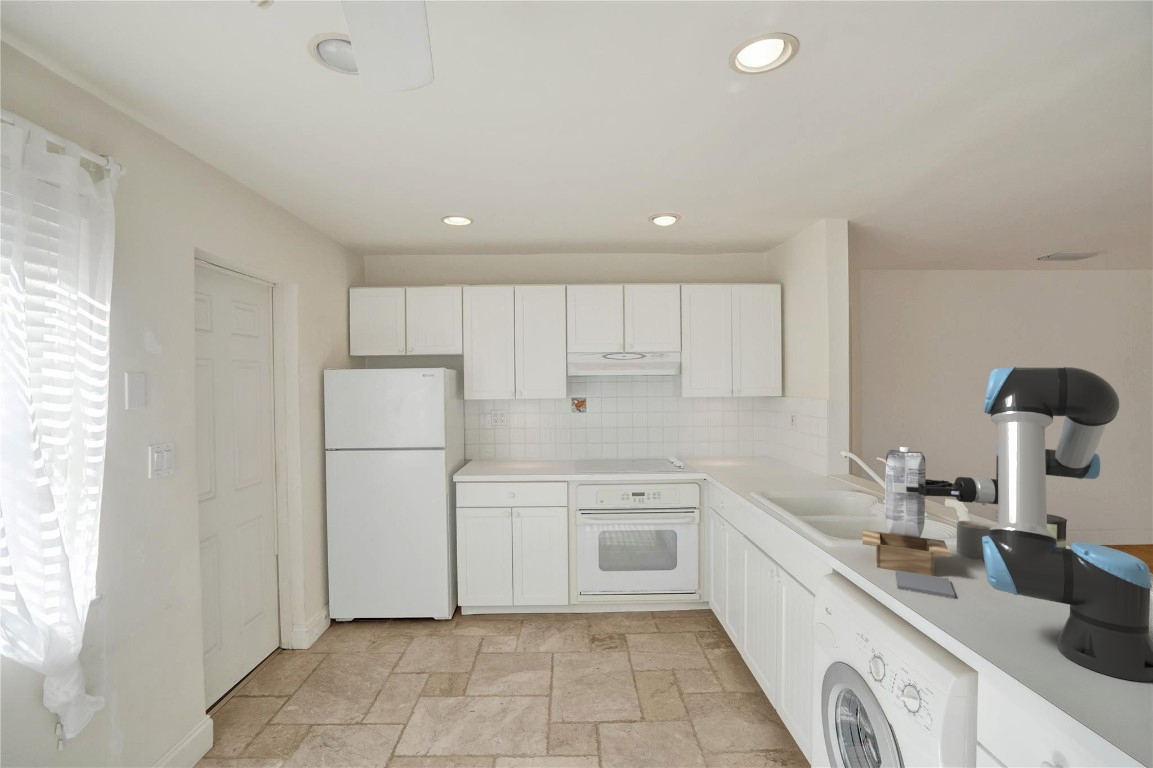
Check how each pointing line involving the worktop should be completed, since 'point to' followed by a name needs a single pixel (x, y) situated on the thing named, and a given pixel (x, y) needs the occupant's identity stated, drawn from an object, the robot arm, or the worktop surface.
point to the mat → (924, 583)
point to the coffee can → (1057, 529)
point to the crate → (905, 551)
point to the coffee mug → (971, 538)
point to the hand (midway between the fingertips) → (889, 484)
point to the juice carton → (904, 507)
